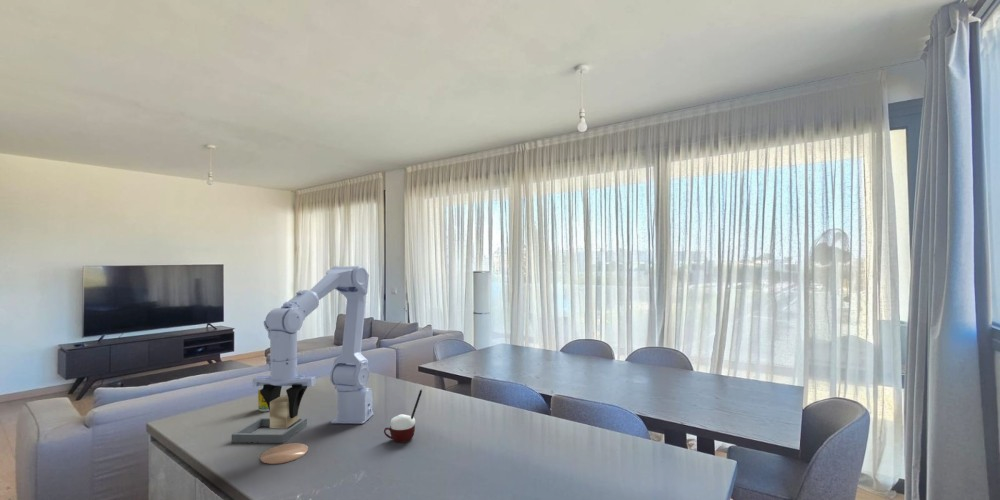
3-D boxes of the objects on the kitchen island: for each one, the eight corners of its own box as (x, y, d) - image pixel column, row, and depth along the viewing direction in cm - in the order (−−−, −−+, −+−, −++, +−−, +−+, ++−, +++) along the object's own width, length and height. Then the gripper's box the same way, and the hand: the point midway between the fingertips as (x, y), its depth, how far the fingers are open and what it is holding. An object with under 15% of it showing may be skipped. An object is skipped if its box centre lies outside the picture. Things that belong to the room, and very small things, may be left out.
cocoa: (382, 445, 107) (378, 397, 107) (393, 434, 113) (389, 388, 113) (418, 446, 105) (414, 397, 105) (427, 434, 111) (424, 388, 111)
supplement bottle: (276, 404, 139) (276, 374, 139) (278, 409, 134) (278, 378, 135) (257, 408, 136) (257, 377, 136) (259, 413, 131) (258, 381, 132)
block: (298, 420, 105) (298, 395, 105) (286, 428, 100) (286, 402, 100) (282, 420, 105) (282, 395, 105) (269, 428, 100) (269, 401, 100)
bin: (307, 425, 120) (306, 418, 120) (282, 443, 109) (282, 434, 109) (260, 425, 121) (260, 417, 121) (231, 442, 110) (231, 434, 110)
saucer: (315, 445, 107) (315, 443, 107) (293, 464, 97) (293, 462, 97) (277, 445, 108) (277, 442, 108) (250, 463, 98) (250, 461, 98)
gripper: (243, 362, 99) (244, 422, 99) (304, 362, 98) (304, 423, 98) (262, 356, 106) (263, 411, 106) (319, 355, 105) (320, 412, 105)
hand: (284, 416), depth 102 cm, fingers closed on block, 4 cm apart
